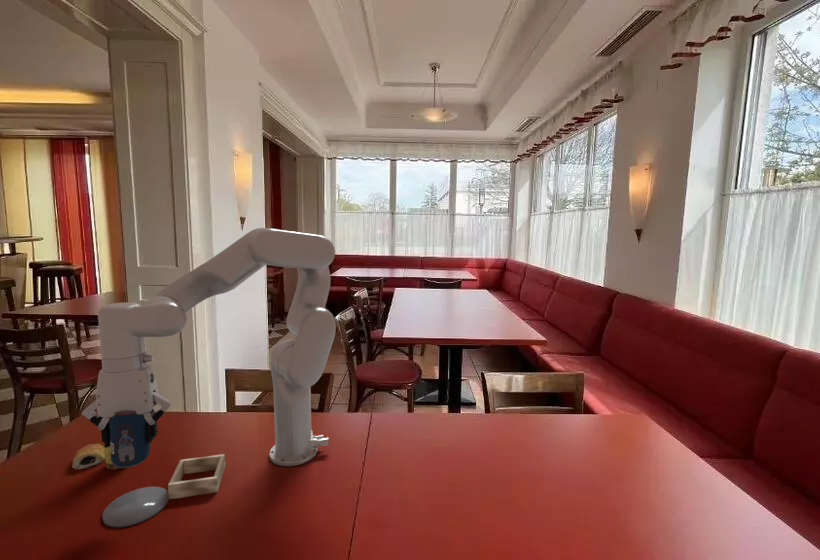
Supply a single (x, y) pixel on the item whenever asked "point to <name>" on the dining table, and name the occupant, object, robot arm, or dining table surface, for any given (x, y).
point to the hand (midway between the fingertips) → (130, 441)
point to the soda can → (128, 439)
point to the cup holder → (197, 485)
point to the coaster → (135, 507)
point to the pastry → (88, 456)
